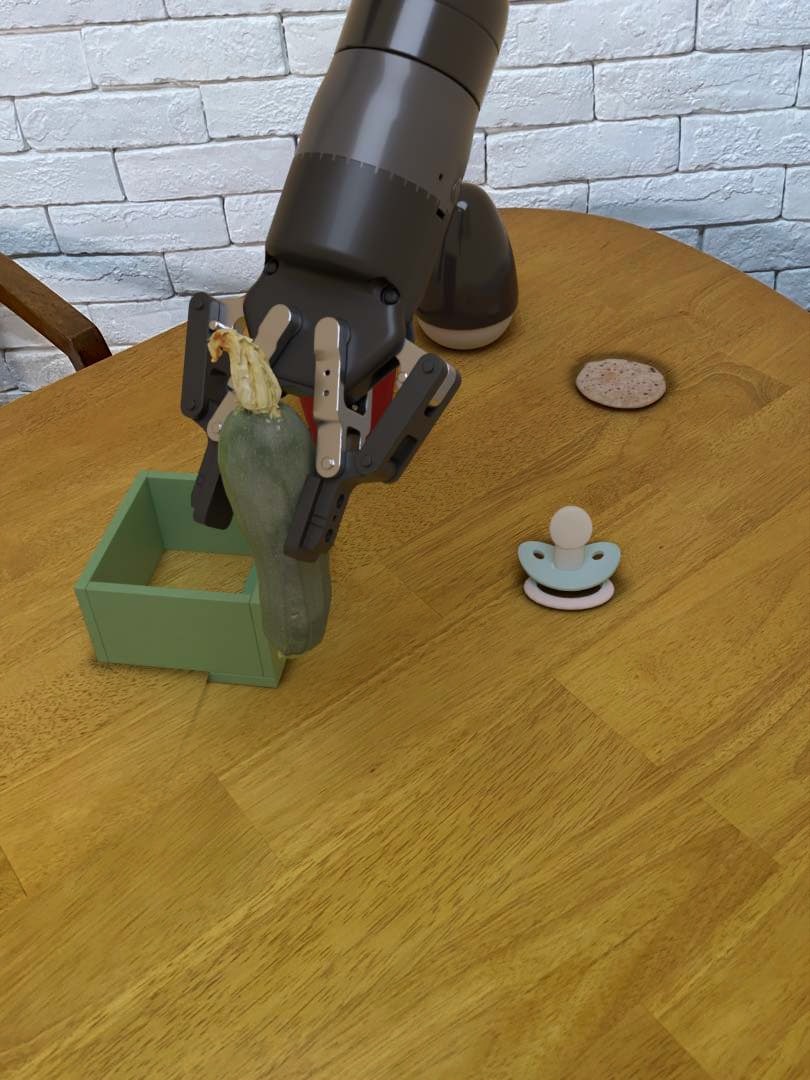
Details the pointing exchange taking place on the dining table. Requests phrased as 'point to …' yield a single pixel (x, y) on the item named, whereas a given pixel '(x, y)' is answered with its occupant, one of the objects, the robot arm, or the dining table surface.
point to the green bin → (172, 592)
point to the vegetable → (271, 496)
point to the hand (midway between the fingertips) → (254, 540)
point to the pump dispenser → (471, 277)
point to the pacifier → (569, 562)
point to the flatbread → (621, 383)
